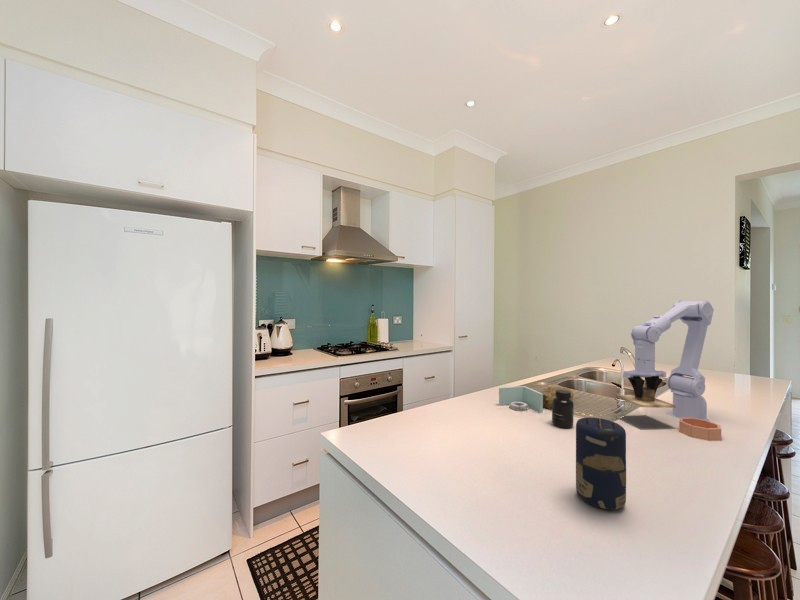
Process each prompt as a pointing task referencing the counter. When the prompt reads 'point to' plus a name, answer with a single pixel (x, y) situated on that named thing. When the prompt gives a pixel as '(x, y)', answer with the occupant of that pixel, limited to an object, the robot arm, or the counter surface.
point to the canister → (601, 462)
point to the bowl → (700, 429)
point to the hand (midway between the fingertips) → (644, 397)
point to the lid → (646, 399)
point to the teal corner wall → (521, 398)
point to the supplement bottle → (562, 410)
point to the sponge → (552, 396)
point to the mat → (645, 422)
